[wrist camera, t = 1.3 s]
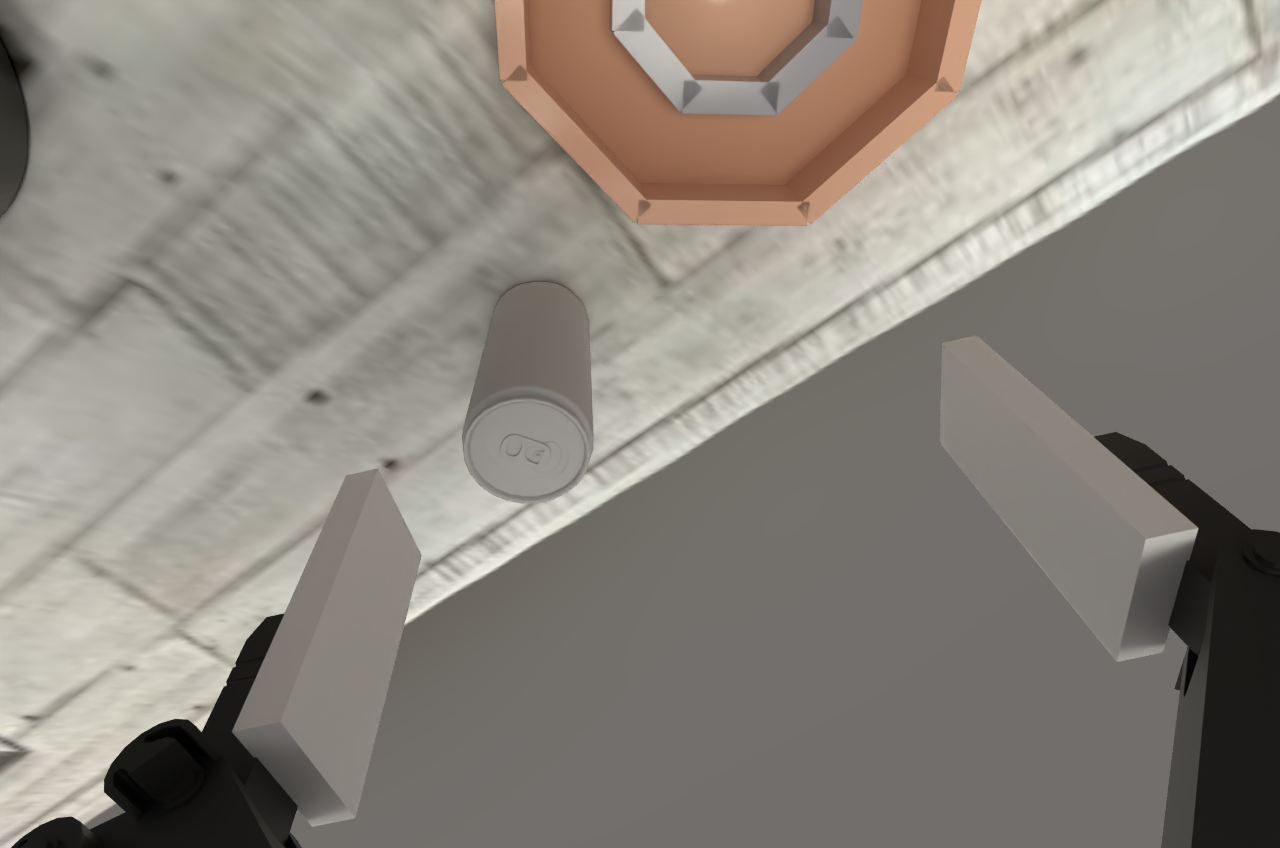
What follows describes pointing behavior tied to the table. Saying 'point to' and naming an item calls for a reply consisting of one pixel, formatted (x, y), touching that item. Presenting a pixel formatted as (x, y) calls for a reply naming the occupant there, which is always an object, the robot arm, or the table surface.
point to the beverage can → (532, 397)
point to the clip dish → (732, 95)
